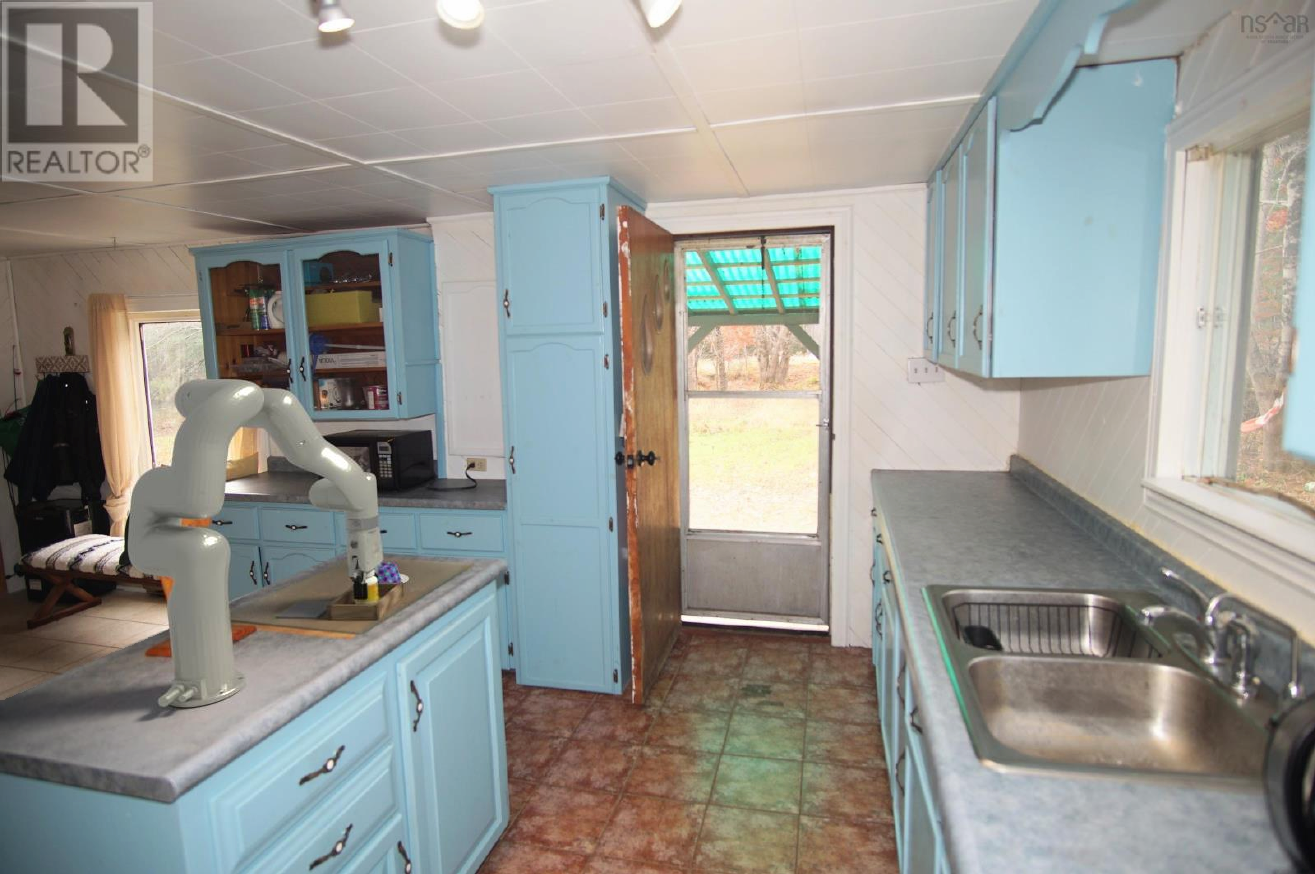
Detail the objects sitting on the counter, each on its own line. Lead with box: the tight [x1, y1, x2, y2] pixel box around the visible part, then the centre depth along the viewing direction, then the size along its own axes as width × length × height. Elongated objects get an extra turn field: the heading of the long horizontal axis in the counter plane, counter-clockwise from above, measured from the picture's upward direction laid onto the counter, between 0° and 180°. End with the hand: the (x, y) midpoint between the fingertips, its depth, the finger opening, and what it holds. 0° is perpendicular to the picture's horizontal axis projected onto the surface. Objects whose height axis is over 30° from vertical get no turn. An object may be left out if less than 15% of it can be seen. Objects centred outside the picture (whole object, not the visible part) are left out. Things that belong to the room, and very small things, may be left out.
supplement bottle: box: [354, 569, 380, 605], centre depth 171 cm, size 5×5×10 cm
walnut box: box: [326, 582, 405, 621], centre depth 172 cm, size 16×12×4 cm
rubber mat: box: [275, 600, 334, 619], centre depth 170 cm, size 10×10×1 cm
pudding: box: [376, 562, 410, 584], centre depth 189 cm, size 12×12×5 cm
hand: (366, 593), depth 171 cm, fingers closed on supplement bottle, 5 cm apart
